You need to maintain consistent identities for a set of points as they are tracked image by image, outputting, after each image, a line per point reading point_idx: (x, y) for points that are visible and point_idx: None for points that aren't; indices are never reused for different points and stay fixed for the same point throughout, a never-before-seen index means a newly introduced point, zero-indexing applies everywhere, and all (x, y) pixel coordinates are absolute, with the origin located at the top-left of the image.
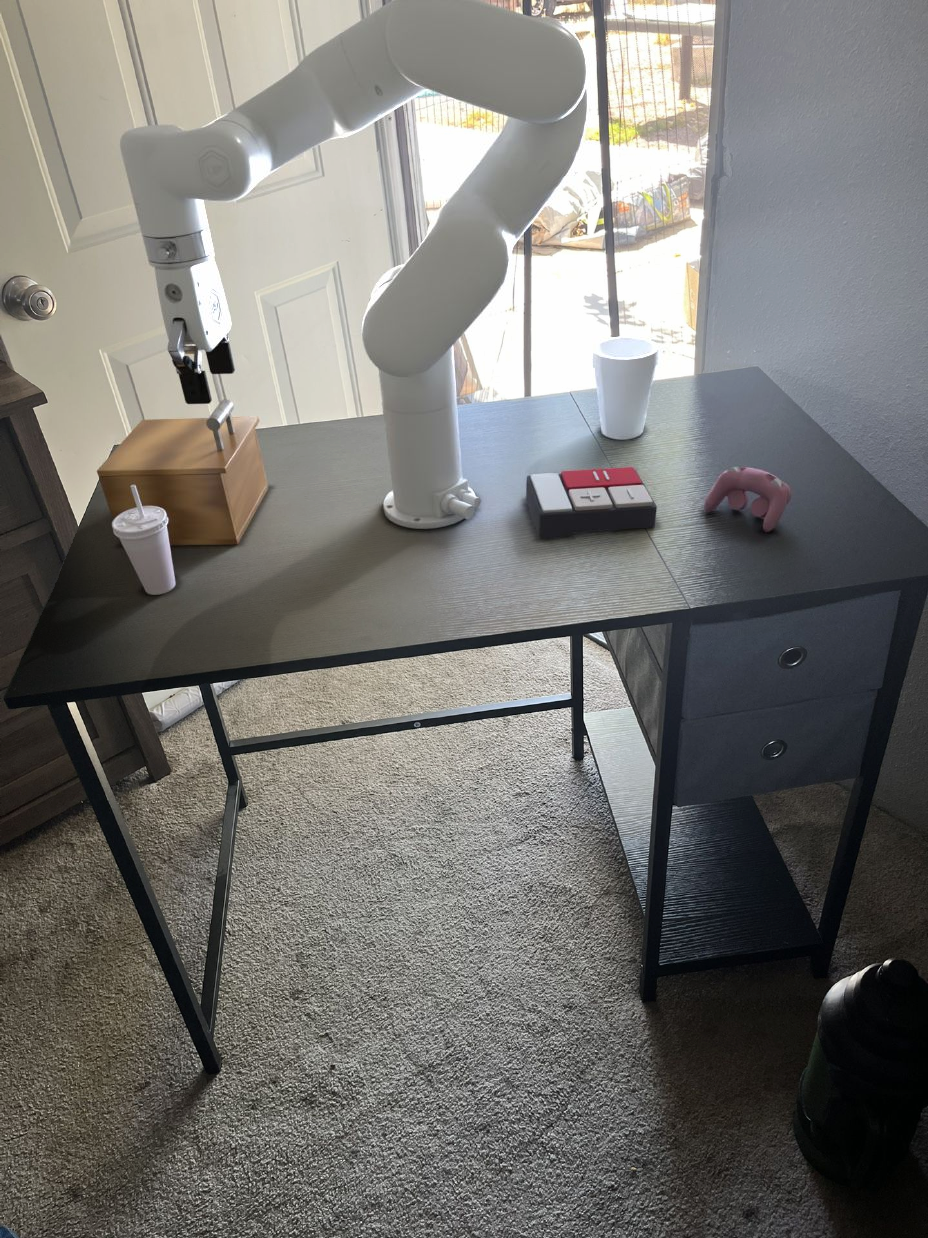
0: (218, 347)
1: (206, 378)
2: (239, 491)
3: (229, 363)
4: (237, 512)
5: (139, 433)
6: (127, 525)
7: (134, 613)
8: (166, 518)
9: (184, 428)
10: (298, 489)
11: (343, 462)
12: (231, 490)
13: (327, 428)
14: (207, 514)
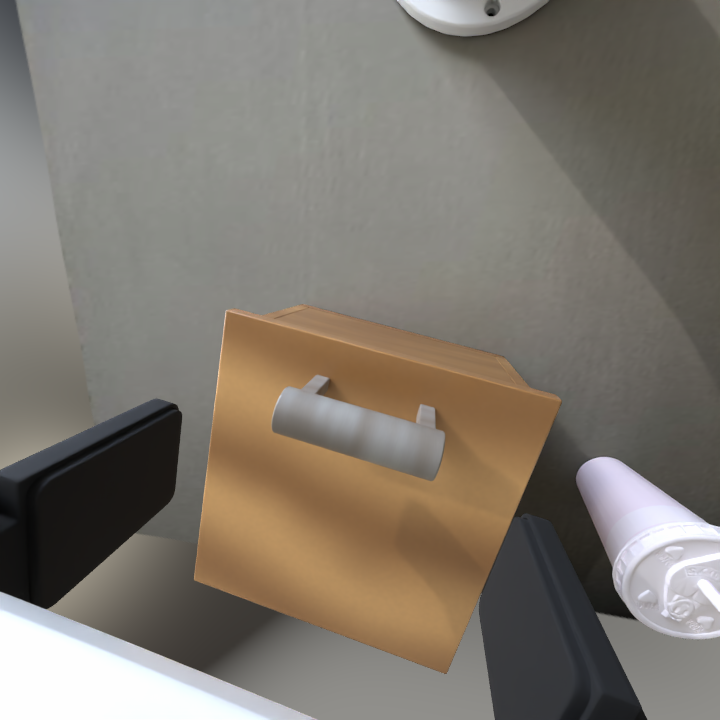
0: (56, 531)
1: (584, 630)
2: (442, 356)
3: (145, 433)
4: (477, 359)
5: (268, 588)
6: (717, 611)
7: None
8: (704, 530)
9: (263, 497)
10: (319, 244)
11: (224, 148)
12: (488, 375)
13: (77, 188)
14: None
